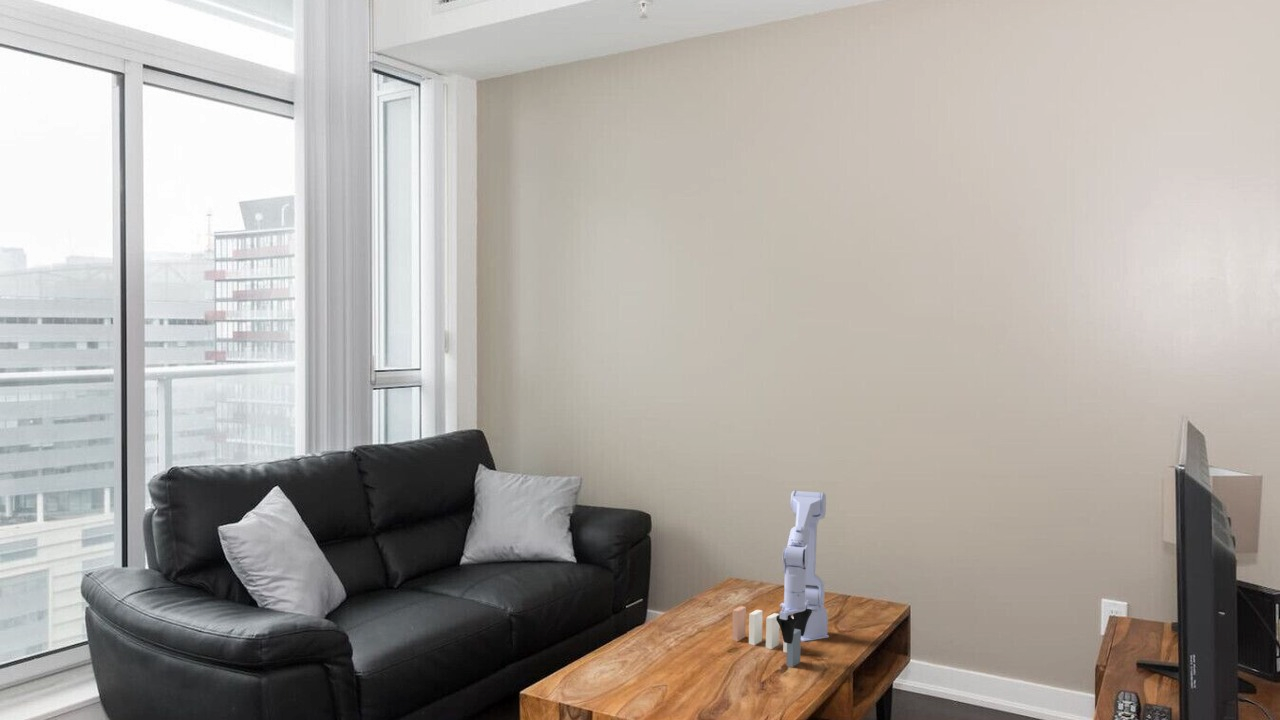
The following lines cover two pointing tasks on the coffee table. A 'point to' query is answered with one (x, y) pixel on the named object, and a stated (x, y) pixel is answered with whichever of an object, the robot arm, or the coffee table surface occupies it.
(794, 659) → the domino
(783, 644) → the domino
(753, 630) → the domino
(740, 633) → the domino
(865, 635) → the coffee table surface
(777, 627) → the domino
